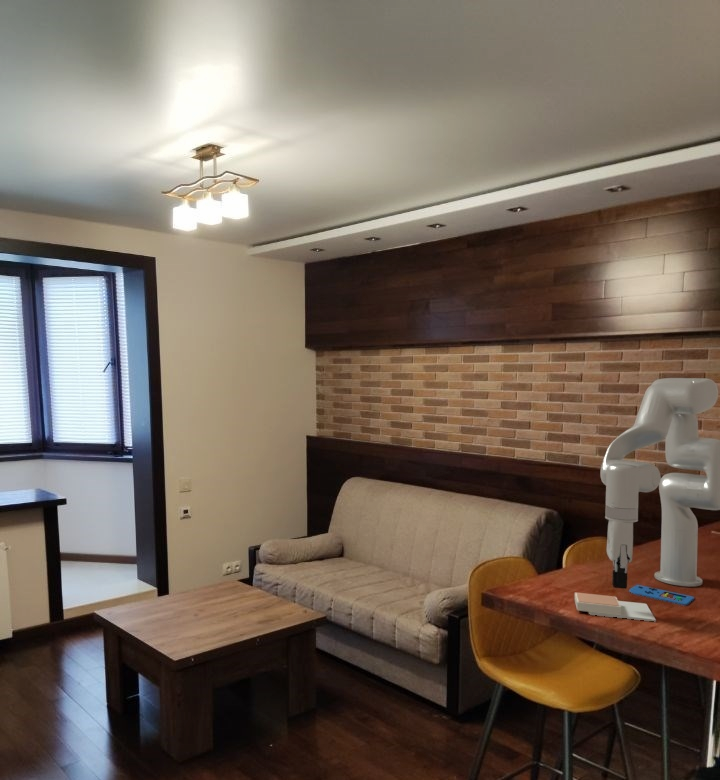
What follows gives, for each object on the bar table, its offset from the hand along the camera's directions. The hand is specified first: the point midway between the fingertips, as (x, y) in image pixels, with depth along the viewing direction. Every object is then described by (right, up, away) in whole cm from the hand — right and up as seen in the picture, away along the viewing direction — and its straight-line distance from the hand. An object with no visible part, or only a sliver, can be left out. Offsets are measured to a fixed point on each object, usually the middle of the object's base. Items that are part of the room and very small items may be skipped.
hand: (619, 587), depth 157 cm
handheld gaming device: (+17, -7, +14) cm, 23 cm away
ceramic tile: (-4, -4, +5) cm, 8 cm away
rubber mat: (0, -6, +1) cm, 6 cm away
